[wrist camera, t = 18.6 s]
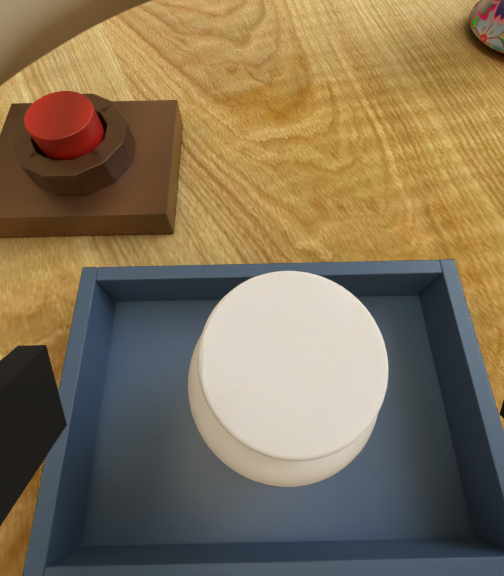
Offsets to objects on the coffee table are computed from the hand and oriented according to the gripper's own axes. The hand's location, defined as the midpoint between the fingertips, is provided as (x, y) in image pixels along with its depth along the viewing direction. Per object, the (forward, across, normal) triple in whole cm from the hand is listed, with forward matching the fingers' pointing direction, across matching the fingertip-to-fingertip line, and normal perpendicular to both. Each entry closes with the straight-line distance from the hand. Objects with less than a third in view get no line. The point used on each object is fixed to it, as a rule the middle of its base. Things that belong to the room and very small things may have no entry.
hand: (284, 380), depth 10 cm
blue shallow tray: (+7, 0, -7) cm, 10 cm away
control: (+18, -12, +5) cm, 22 cm away
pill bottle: (+7, 0, -6) cm, 9 cm away
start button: (+16, -12, +7) cm, 21 cm away
